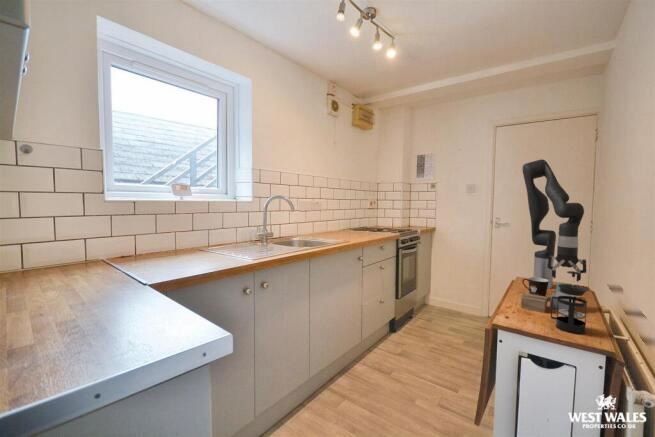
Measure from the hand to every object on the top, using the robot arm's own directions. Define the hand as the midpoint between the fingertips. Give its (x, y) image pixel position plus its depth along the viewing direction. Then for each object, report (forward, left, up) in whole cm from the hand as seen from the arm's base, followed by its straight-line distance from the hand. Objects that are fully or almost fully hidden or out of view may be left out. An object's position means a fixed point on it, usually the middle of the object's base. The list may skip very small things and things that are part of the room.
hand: (565, 279), depth 141 cm
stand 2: (0, -1, -13) cm, 13 cm away
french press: (+28, +3, -14) cm, 32 cm away
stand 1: (+10, -11, -13) cm, 20 cm away
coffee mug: (-8, -12, -14) cm, 20 cm away
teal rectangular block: (0, -1, -8) cm, 8 cm away
